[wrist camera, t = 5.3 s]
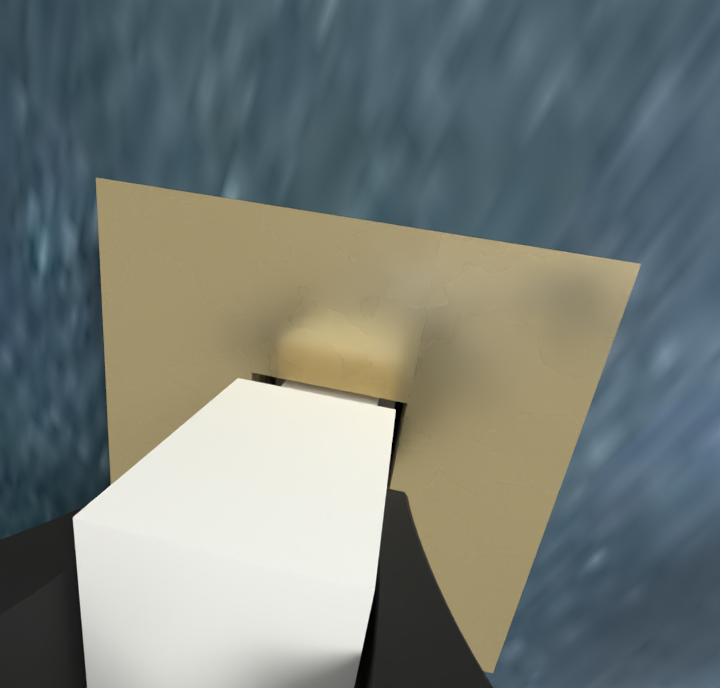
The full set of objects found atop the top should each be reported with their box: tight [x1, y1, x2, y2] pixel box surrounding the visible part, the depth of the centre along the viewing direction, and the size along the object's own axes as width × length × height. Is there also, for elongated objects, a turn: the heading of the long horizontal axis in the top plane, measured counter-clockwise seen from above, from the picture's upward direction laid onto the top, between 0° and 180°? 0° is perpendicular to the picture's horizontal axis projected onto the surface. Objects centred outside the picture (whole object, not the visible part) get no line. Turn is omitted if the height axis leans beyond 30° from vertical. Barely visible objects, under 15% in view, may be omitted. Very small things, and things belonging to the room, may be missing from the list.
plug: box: [73, 378, 396, 688], centre depth 10 cm, size 4×5×8 cm
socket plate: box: [96, 178, 641, 673], centre depth 13 cm, size 14×14×3 cm
